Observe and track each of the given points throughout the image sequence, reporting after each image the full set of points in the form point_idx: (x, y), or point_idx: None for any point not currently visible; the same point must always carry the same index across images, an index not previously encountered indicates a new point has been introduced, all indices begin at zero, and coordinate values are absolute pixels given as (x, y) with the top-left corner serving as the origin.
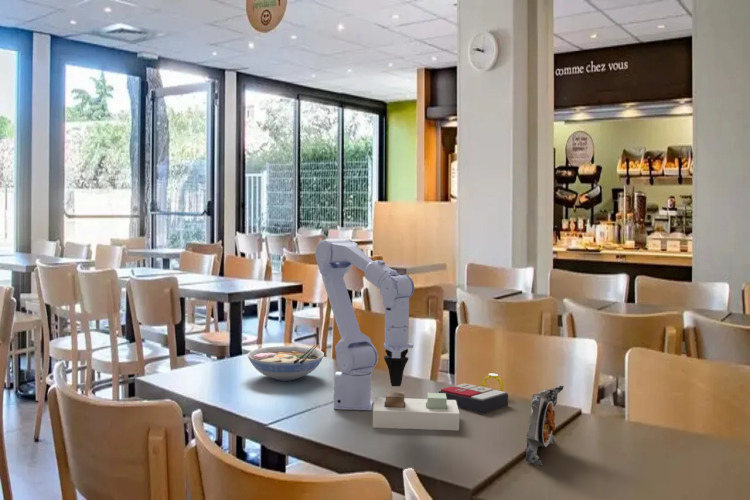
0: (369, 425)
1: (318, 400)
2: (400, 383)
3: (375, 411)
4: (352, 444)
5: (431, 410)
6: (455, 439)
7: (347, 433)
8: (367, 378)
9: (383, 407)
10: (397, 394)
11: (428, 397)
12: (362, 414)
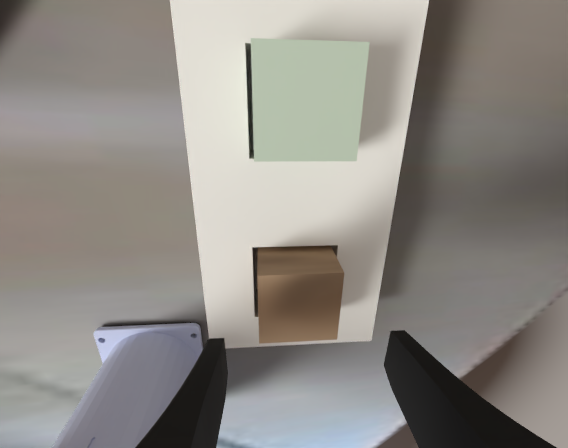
0: None
1: None
2: (416, 342)
3: (370, 332)
4: (473, 332)
5: (375, 136)
6: (487, 39)
7: None
8: (142, 436)
9: None
10: (303, 301)
11: (348, 158)
12: None
